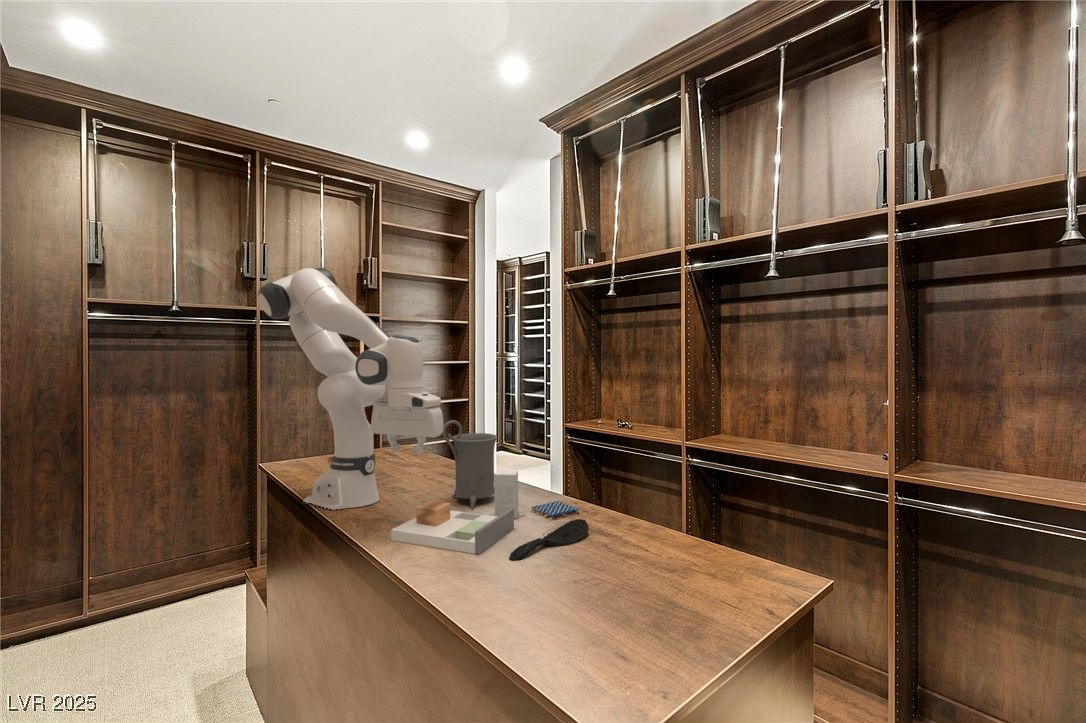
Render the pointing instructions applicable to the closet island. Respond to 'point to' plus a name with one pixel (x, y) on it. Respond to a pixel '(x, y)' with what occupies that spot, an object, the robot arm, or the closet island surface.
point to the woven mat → (555, 510)
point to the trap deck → (457, 532)
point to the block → (433, 513)
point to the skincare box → (506, 492)
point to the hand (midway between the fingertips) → (406, 452)
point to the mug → (472, 463)
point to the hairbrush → (554, 538)
